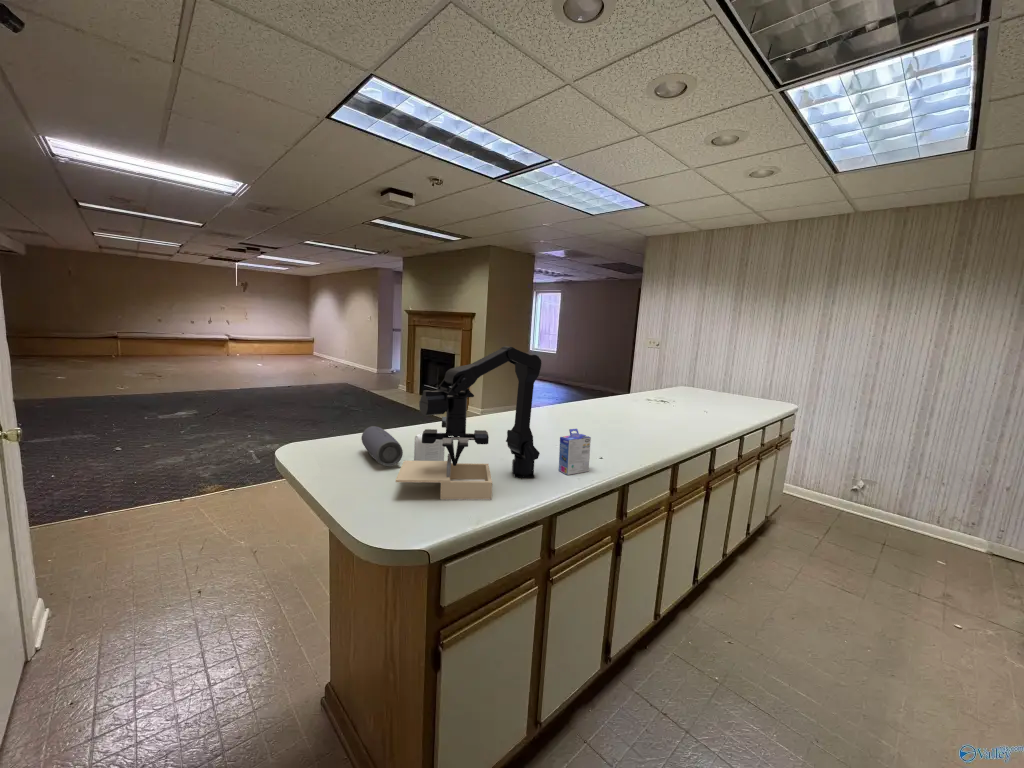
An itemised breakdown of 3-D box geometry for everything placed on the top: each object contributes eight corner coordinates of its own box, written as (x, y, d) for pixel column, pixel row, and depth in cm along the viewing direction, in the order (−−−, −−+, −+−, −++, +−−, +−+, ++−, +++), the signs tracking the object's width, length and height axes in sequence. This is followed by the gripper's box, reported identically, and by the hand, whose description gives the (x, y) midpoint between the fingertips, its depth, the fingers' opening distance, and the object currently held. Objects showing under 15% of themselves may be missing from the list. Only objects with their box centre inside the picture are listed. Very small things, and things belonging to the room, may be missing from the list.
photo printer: (440, 463, 143) (441, 428, 141) (445, 467, 139) (447, 431, 138) (411, 468, 137) (412, 431, 135) (416, 472, 133) (417, 434, 132)
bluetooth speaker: (404, 468, 137) (405, 438, 135) (375, 472, 132) (376, 441, 131) (385, 449, 156) (385, 423, 154) (359, 452, 151) (359, 425, 150)
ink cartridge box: (579, 466, 147) (582, 427, 145) (589, 471, 143) (592, 430, 141) (557, 470, 142) (559, 429, 140) (567, 475, 137) (570, 433, 136)
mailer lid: (451, 462, 129) (451, 451, 128) (449, 482, 113) (450, 469, 112) (403, 462, 127) (404, 451, 126) (395, 482, 111) (395, 469, 110)
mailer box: (487, 478, 131) (488, 463, 130) (491, 499, 115) (492, 482, 114) (442, 478, 129) (443, 463, 128) (440, 499, 113) (440, 482, 112)
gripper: (487, 408, 128) (485, 457, 130) (425, 406, 125) (424, 456, 127) (489, 415, 117) (487, 469, 119) (422, 414, 114) (421, 468, 116)
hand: (454, 465), depth 120 cm, fingers closed
